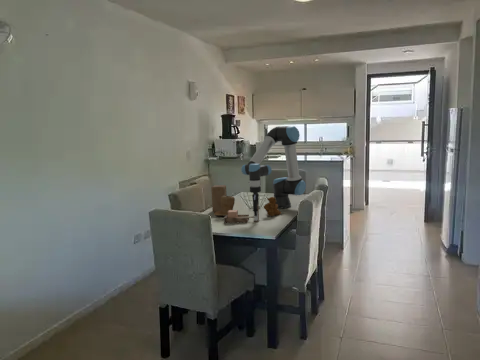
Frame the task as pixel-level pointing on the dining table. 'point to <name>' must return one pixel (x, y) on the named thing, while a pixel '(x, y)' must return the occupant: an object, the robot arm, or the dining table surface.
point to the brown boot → (225, 205)
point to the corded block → (235, 215)
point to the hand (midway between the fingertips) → (256, 219)
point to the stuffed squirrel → (272, 207)
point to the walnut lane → (236, 219)
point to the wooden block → (217, 196)
